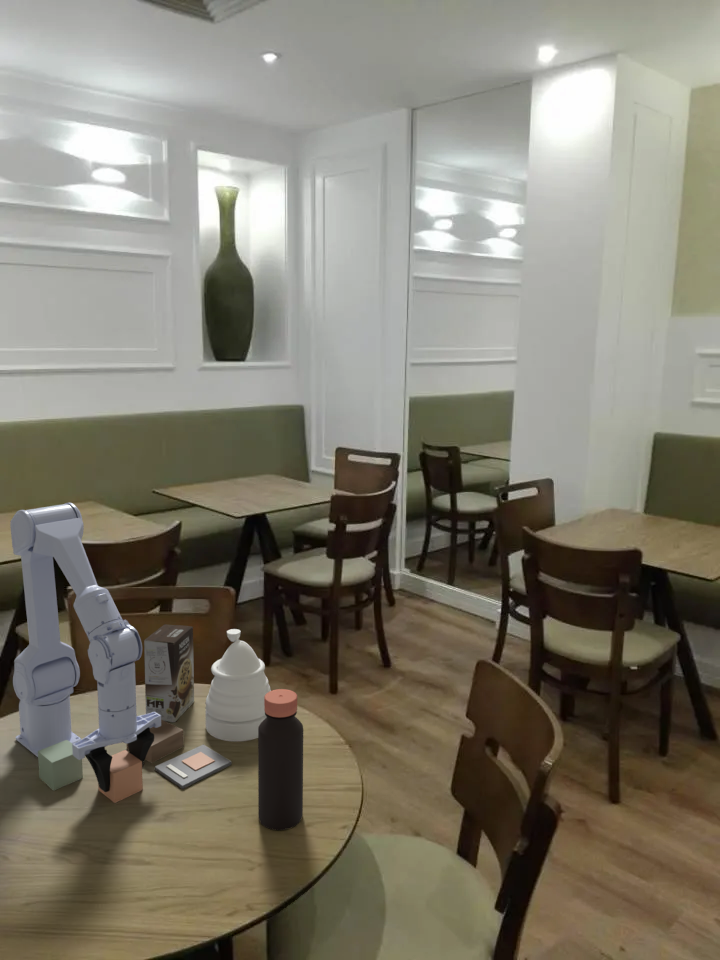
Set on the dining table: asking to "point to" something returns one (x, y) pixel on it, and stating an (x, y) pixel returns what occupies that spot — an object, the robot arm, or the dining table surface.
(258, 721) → the honey pot
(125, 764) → the terracotta block
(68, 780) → the sage block
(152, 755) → the walnut base
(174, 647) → the coffee box
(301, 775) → the bottle
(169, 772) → the card
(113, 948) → the dining table surface
